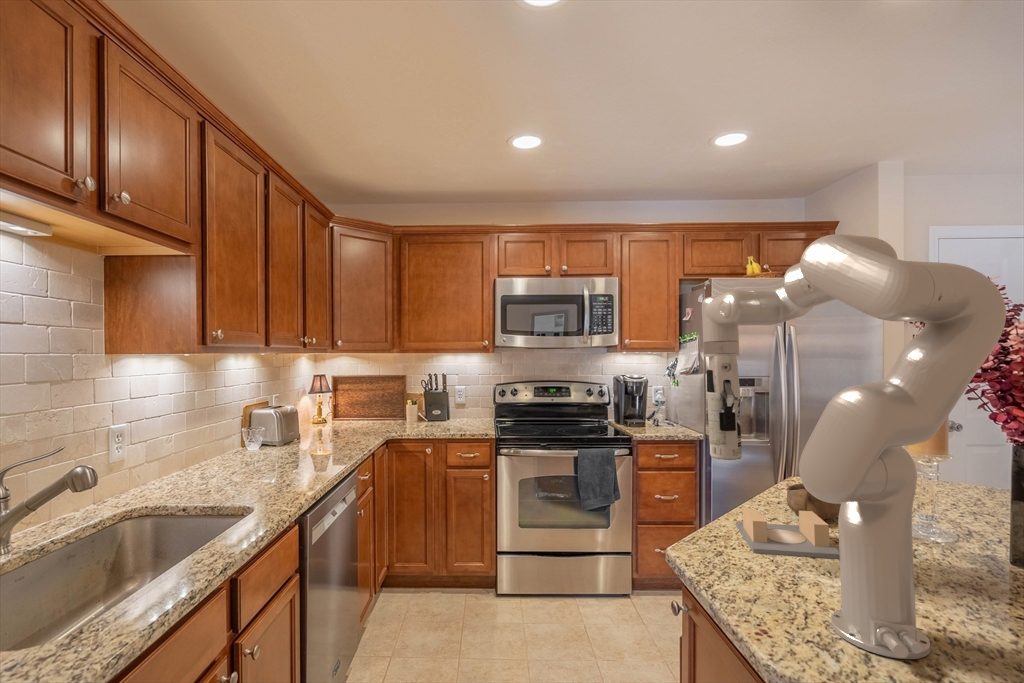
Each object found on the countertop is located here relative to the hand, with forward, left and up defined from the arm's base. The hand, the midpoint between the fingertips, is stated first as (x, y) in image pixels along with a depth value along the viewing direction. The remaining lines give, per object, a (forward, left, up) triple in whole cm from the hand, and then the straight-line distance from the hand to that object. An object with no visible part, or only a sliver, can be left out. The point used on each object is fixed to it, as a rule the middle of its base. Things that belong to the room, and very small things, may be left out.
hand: (724, 427), depth 108 cm
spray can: (0, 0, -7) cm, 7 cm away
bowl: (+31, -28, -29) cm, 51 cm away
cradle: (+12, -15, -29) cm, 35 cm away
